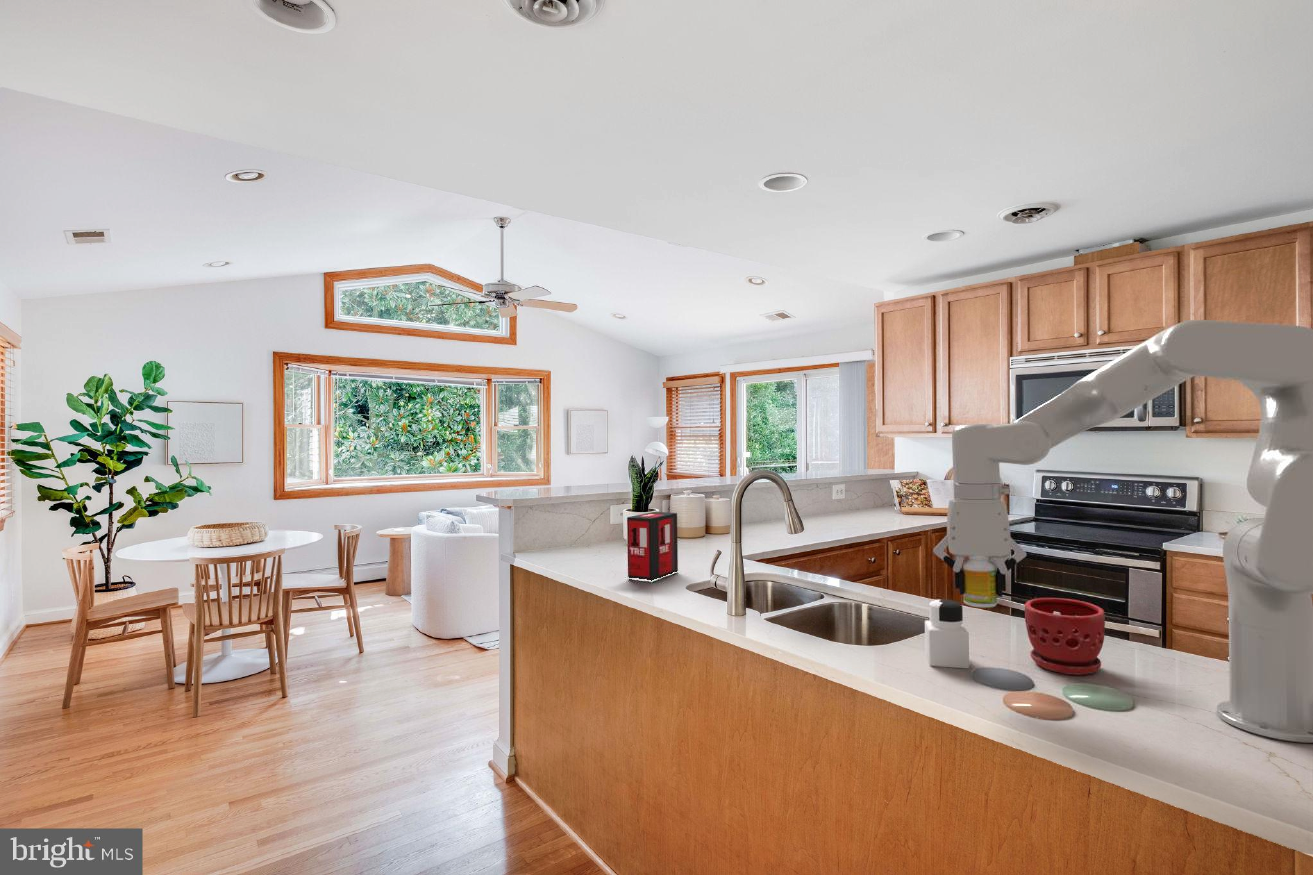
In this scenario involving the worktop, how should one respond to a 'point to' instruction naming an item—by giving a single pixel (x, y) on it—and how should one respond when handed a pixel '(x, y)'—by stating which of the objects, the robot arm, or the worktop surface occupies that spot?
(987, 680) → the slate grey coaster
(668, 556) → the cleaning product box
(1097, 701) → the sage green coaster
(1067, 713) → the peach coaster
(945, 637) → the medicine bottle
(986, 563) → the supplement bottle
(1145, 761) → the worktop surface
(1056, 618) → the plant pot
